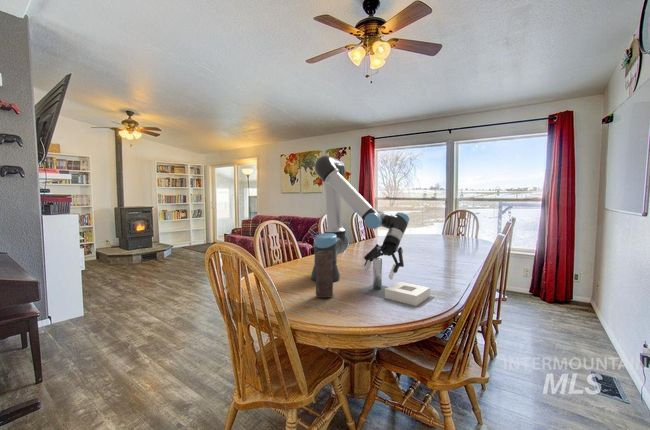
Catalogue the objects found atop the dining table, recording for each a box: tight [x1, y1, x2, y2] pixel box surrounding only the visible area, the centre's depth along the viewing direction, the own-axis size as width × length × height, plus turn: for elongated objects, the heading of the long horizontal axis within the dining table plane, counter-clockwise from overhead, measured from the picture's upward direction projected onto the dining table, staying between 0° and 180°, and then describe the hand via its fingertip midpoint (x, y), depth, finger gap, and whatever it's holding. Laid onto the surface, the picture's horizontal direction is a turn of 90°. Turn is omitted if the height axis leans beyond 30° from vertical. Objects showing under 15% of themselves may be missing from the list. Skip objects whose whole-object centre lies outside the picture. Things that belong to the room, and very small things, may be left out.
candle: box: [315, 251, 334, 299], centre depth 130 cm, size 8×7×20 cm
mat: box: [356, 284, 436, 309], centre depth 133 cm, size 30×16×1 cm, turn 50°
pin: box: [372, 257, 383, 290], centre depth 141 cm, size 4×4×14 cm
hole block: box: [385, 281, 431, 306], centre depth 129 cm, size 14×14×4 cm
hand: (376, 275), depth 139 cm, fingers open, 13 cm apart
